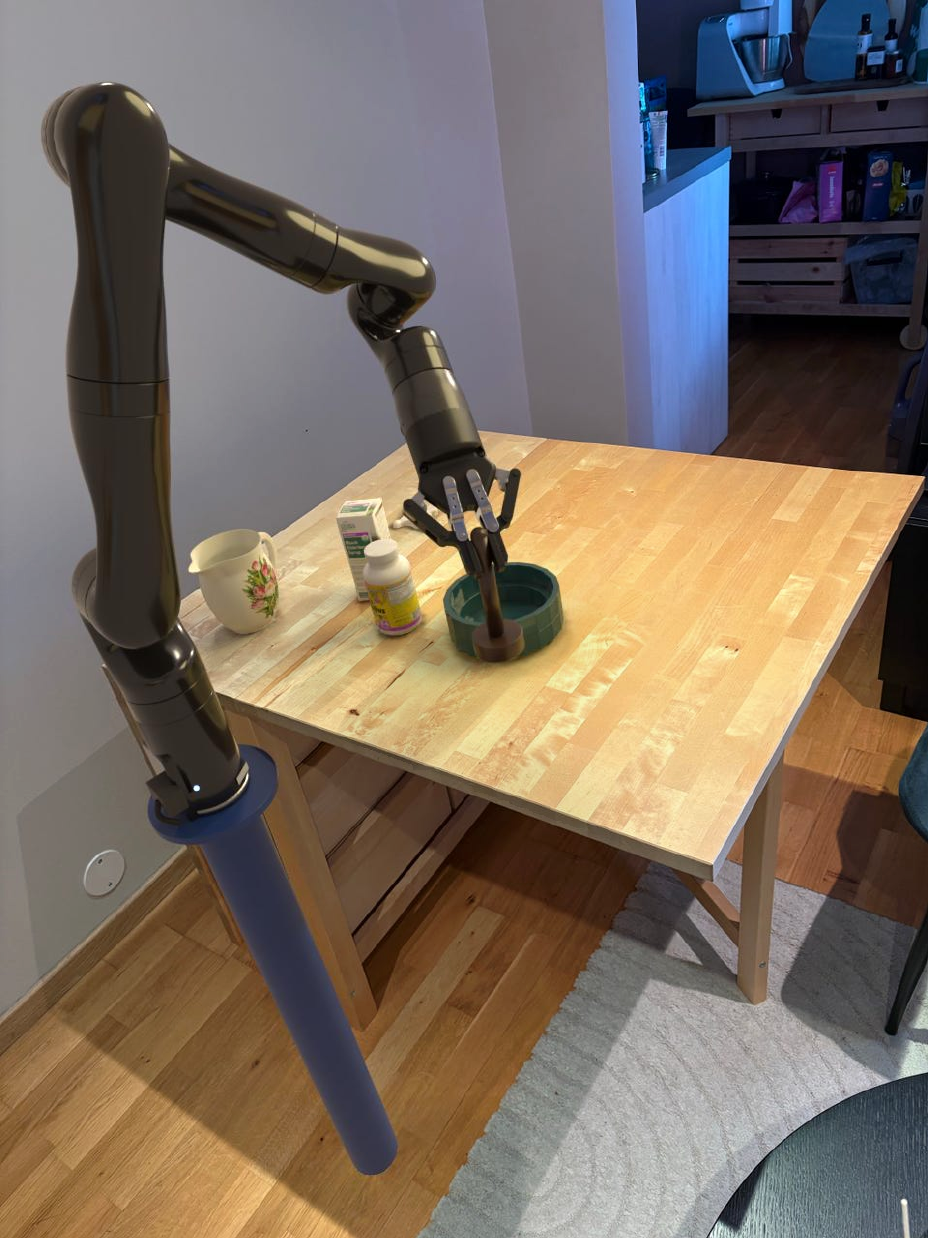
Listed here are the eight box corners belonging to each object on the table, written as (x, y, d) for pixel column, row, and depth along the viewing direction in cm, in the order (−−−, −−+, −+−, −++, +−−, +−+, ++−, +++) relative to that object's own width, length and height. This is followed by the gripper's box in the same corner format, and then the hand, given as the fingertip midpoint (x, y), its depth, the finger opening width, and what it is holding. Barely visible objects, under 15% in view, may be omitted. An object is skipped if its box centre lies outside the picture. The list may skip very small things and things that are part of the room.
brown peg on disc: (498, 669, 99) (475, 547, 90) (464, 651, 103) (439, 532, 94) (535, 644, 101) (515, 523, 93) (500, 627, 105) (478, 510, 97)
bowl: (505, 678, 117) (498, 640, 114) (428, 637, 128) (420, 602, 125) (587, 619, 125) (583, 582, 122) (508, 586, 136) (502, 551, 132)
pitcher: (315, 587, 145) (291, 510, 138) (254, 656, 132) (223, 574, 124) (258, 583, 149) (232, 508, 142) (193, 649, 136) (160, 570, 129)
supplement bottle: (371, 621, 134) (350, 545, 127) (413, 605, 136) (394, 529, 129) (386, 643, 129) (365, 565, 122) (429, 626, 130) (411, 548, 123)
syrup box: (357, 602, 139) (333, 517, 131) (367, 581, 144) (344, 498, 136) (393, 600, 138) (371, 514, 130) (402, 579, 143) (381, 495, 135)
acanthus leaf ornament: (408, 509, 163) (406, 499, 162) (443, 510, 160) (441, 500, 159) (390, 529, 157) (387, 520, 156) (425, 531, 154) (423, 521, 153)
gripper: (374, 425, 93) (428, 583, 90) (502, 390, 95) (559, 543, 92) (375, 455, 100) (425, 602, 97) (494, 422, 102) (546, 564, 99)
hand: (490, 572), depth 94 cm, fingers closed on brown peg on disc
